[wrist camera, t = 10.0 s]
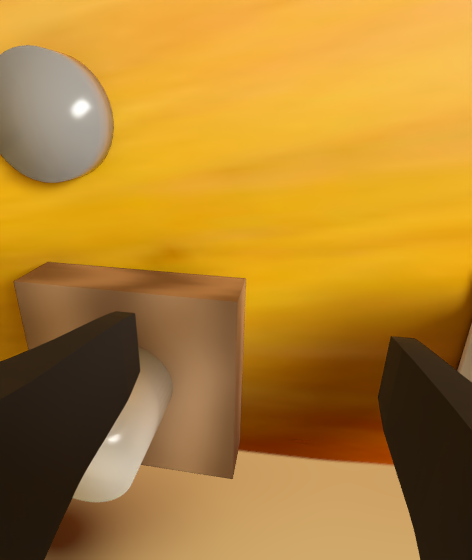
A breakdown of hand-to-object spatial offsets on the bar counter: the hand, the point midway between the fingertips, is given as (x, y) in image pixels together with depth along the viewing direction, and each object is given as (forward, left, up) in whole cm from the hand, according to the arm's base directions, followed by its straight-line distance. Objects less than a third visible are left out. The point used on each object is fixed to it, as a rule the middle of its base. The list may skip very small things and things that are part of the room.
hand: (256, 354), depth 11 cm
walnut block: (+8, +8, -10) cm, 15 cm away
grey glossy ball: (+12, -6, -11) cm, 17 cm away
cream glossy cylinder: (+8, +8, -7) cm, 13 cm away
